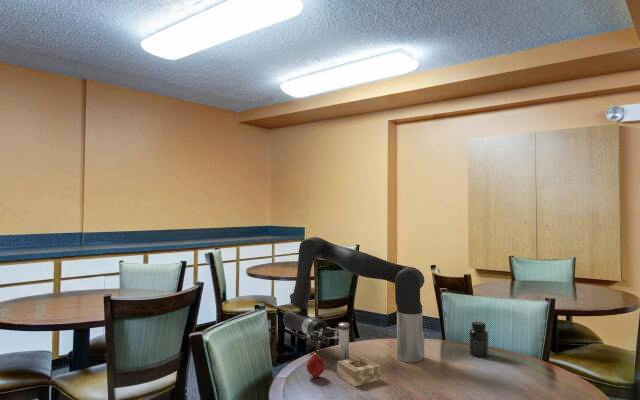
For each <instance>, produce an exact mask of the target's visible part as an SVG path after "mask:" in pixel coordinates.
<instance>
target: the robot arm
mask: <svg viewBox="0 0 640 400" xmlns="http://www.w3.org/2000/svg"><path fill="white" fill-rule="evenodd" d="M298 247H299V248H298V257H297V260H298V261H297V271H296V278H295V283H294V287H293V293H292V298H291V305H292V306H293V307H295V308H298V310H288V311H286V312H285V313H284V314H283V317H282V323H283V325H284V326H285V328H287V329H289V330H294V331H298V332H301V333H303V334H304V335H305V336H306V337H307V338H306V339H307V340H309V341H311V342H312V343H317V342H318V343H322V344H325V345H329V339H333V340H337V339H339V328H338V326H336V327H335V328H334V327H333V328H332V327H330V326H329V325H328V323H327V322H326V321H324V320H321V319H319V318H317V317H313V316H310V315H309V311H308V310H309V301H310V297H311V291H312V280H311V278H312V276H311V275H312V274H311V273H312V268H313V265H314V262H315V260H319V259H320V260H324V261H328V262H331V263H335V264H337V266H339V267H340V268H341V269H342V270H344V271H346V272H348V273H350V274H353V275H356V276H360V277H362V278H367V279H373V280H375V279H376V280H384V281H386V282H390V283H392V284H394V297H395V299H394V301H395V305H396V359H397V360H399V361H401V362H404V363H419V362H422V361H423V359H425V332H424V331H423V305H422V303H421V289H422V287H423V286H424V284H425V276H424V274H423V273H422V272H421V270H419V269H418V268H416V267H413V266H409V265H408V266H407V265H402V264H398V263H394V262H391V261H388V260H385V259H383V258H380V257H377V256H374V255H372V254H369V253H366V252H363V251H361V250H357V249H353V248H349V247H345V246H342V245H341V246H340V245H337V244H334V243H332V242H330V241H328V240H326V239H324V238H321V237H318V236H313V237H308V238H304V239H302V241H301V242H300V243H299V246H298Z"/></svg>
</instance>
